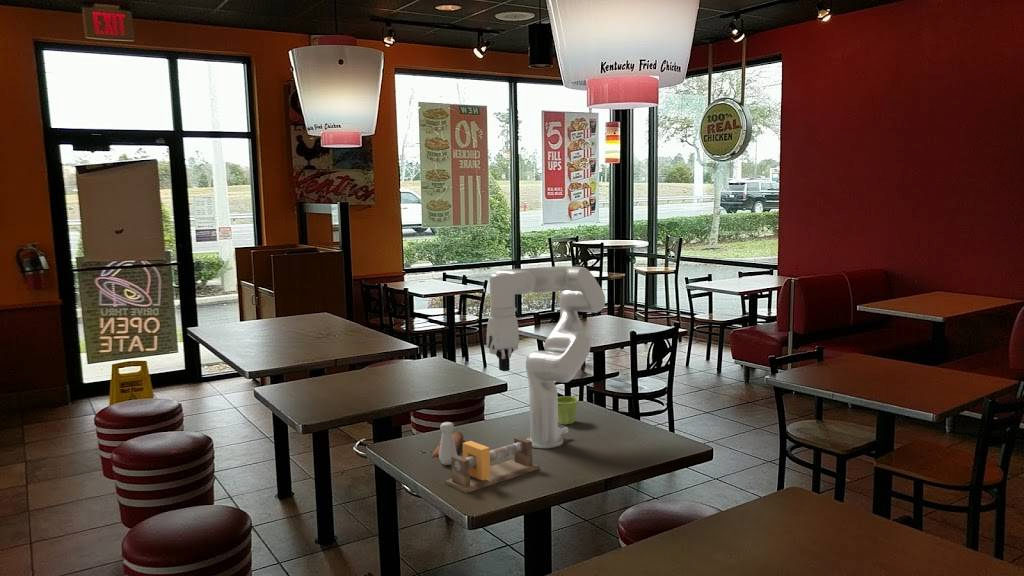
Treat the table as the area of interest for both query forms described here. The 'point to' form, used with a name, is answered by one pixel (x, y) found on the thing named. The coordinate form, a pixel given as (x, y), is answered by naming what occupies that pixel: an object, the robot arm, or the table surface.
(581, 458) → the table surface
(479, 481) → the pipe stand
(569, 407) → the plant pot
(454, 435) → the sunglasses case
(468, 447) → the collar
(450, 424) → the salt shaker
